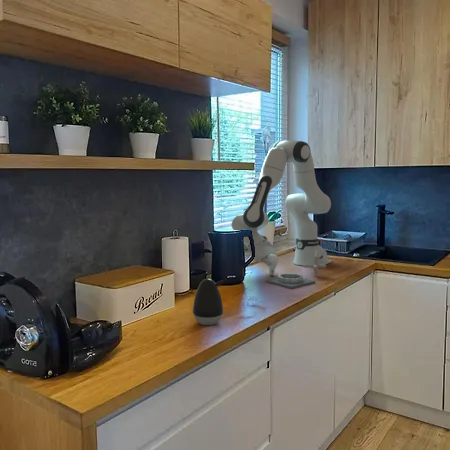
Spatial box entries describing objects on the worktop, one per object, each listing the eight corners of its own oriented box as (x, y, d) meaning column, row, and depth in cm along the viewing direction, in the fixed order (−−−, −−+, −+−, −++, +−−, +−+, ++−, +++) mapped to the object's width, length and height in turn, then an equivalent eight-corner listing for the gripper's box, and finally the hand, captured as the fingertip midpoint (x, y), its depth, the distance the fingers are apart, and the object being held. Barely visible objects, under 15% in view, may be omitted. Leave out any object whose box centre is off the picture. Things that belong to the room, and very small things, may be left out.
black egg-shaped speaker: (227, 326, 149) (227, 281, 148) (196, 329, 146) (196, 283, 145) (219, 316, 159) (218, 274, 157) (190, 319, 156) (189, 276, 154)
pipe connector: (326, 279, 215) (326, 258, 214) (304, 278, 217) (305, 257, 216) (325, 274, 225) (326, 254, 224) (305, 273, 227) (305, 253, 226)
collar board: (289, 276, 219) (289, 270, 219) (315, 283, 207) (315, 276, 207) (265, 281, 209) (265, 275, 209) (291, 288, 197) (291, 282, 197)
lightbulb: (274, 277, 217) (275, 255, 216) (263, 276, 221) (263, 254, 219) (280, 275, 223) (280, 253, 221) (269, 273, 226) (269, 252, 225)
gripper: (250, 241, 214) (268, 263, 210) (267, 236, 232) (285, 256, 228) (241, 250, 217) (260, 272, 213) (259, 244, 234) (276, 264, 231)
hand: (273, 264), depth 221 cm, fingers closed on lightbulb, 6 cm apart
